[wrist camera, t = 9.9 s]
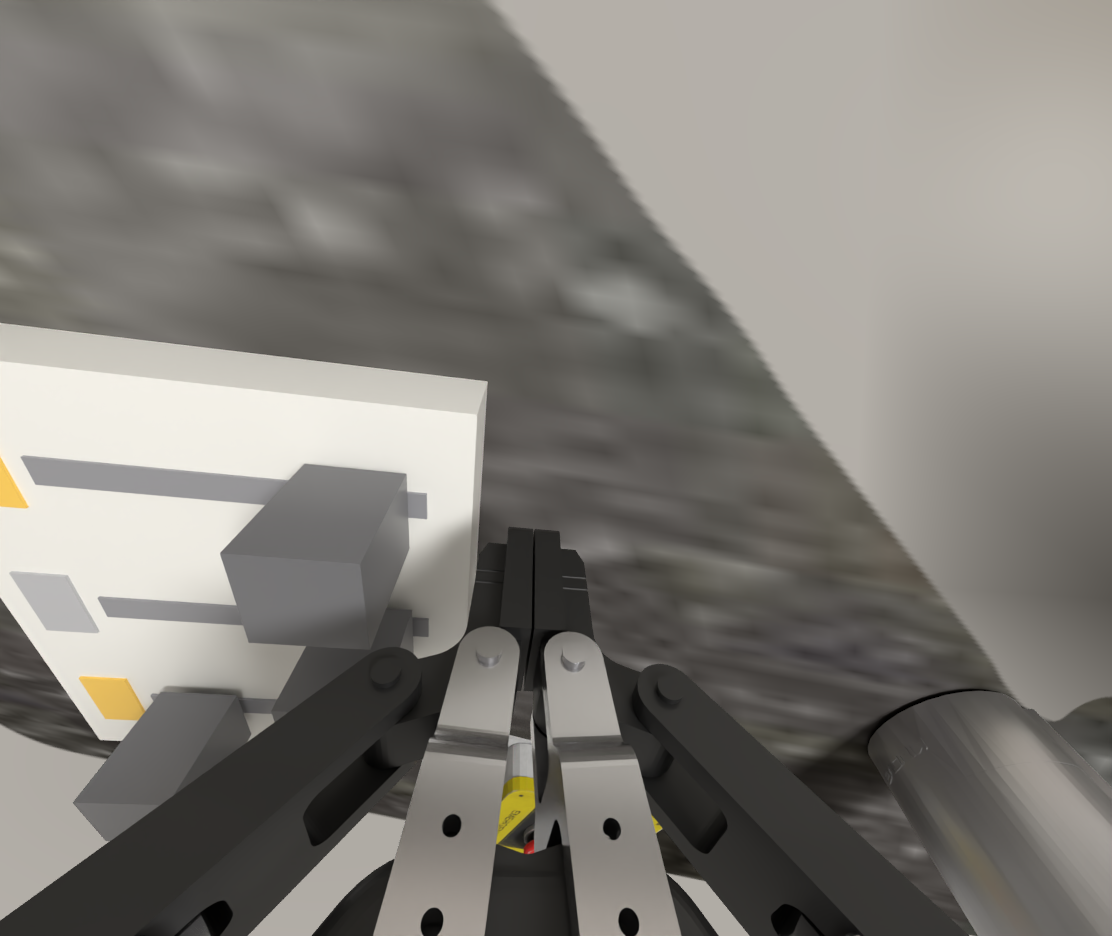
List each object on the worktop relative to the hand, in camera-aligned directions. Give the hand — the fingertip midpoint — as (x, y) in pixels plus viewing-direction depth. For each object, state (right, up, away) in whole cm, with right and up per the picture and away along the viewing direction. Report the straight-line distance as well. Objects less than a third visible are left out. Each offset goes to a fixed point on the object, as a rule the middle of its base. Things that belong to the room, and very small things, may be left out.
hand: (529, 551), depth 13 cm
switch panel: (-11, -2, +7) cm, 13 cm away
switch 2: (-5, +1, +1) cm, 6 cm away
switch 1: (-14, -8, +6) cm, 18 cm away
